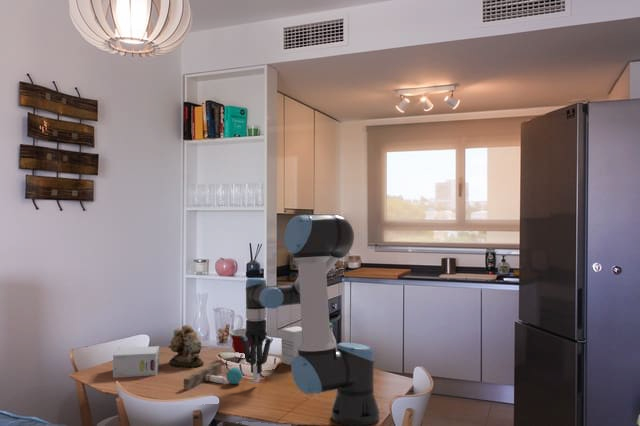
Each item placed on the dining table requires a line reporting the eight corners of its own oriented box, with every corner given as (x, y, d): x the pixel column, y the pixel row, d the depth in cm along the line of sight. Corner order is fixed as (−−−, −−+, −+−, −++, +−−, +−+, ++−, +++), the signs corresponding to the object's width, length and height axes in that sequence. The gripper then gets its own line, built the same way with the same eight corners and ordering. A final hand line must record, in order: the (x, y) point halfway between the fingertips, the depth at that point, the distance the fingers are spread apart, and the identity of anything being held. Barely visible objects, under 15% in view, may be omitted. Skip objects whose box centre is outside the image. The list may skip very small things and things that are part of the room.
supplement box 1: (112, 378, 218) (112, 355, 218) (118, 369, 230) (117, 347, 231) (156, 375, 221) (156, 352, 221) (159, 367, 234) (159, 345, 234)
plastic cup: (225, 358, 245) (225, 332, 246) (237, 353, 256) (237, 327, 256) (246, 361, 242) (246, 334, 242) (257, 355, 252) (257, 329, 252)
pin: (222, 379, 208) (204, 376, 211) (223, 385, 208) (205, 382, 212) (225, 375, 210) (207, 373, 213) (227, 381, 210) (209, 378, 214)
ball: (220, 376, 208) (230, 388, 206) (230, 365, 207) (240, 377, 205) (228, 374, 213) (238, 385, 211) (238, 363, 212) (247, 374, 210)
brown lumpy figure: (160, 364, 237) (160, 325, 237) (179, 358, 247) (179, 321, 248) (191, 370, 228) (191, 329, 228) (210, 363, 238) (210, 324, 239)
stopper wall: (188, 390, 201) (188, 379, 201) (183, 389, 202) (183, 379, 202) (221, 372, 224) (221, 363, 224) (217, 372, 224) (217, 362, 224)
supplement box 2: (296, 359, 245) (296, 325, 245) (309, 362, 238) (309, 328, 238) (280, 362, 239) (280, 328, 239) (294, 366, 232) (293, 331, 232)
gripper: (276, 318, 206) (276, 380, 206) (245, 316, 211) (245, 377, 211) (267, 322, 199) (267, 386, 199) (235, 319, 204) (236, 382, 204)
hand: (256, 381), depth 205 cm, fingers closed
